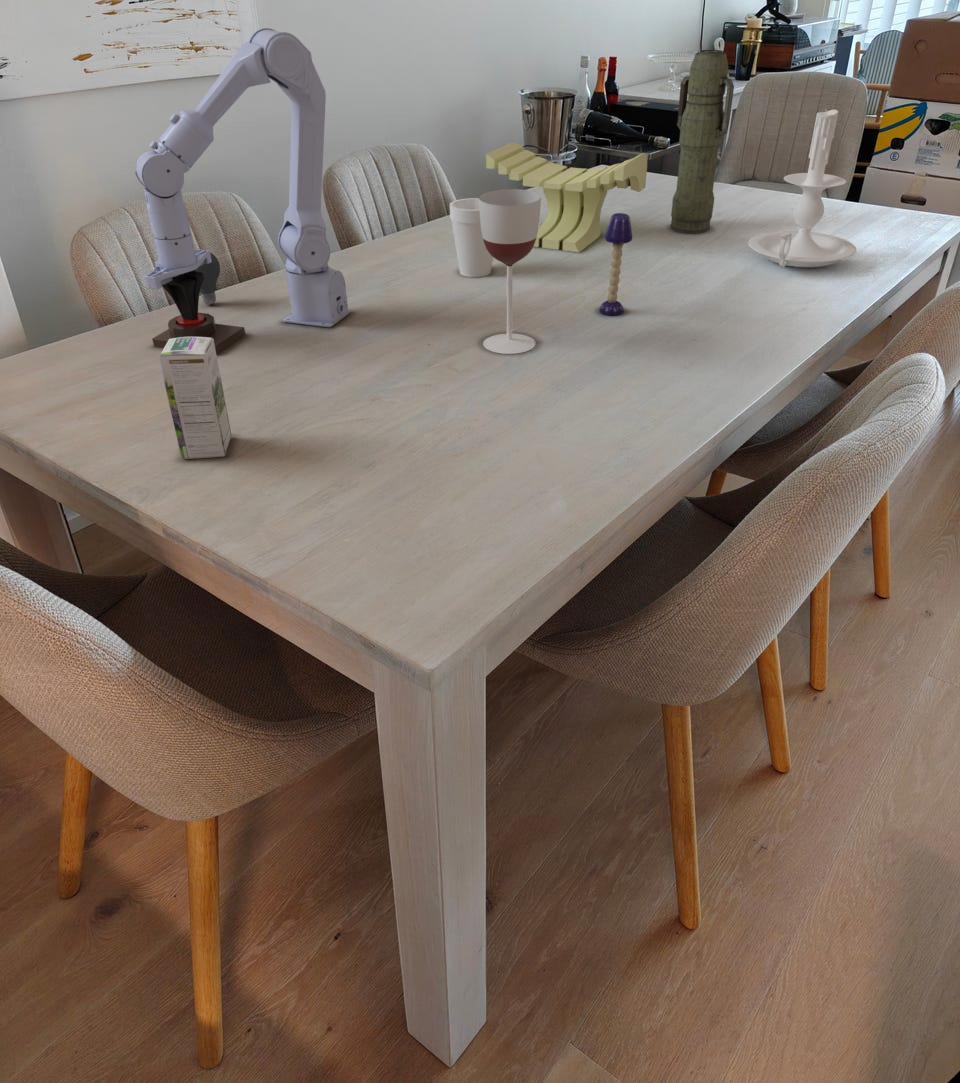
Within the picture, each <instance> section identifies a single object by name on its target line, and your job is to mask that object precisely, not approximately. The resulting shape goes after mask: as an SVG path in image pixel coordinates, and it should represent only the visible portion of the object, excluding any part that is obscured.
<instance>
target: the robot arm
mask: <svg viewBox="0 0 960 1083" xmlns="http://www.w3.org/2000/svg"><path fill="white" fill-rule="evenodd" d="M271 81H273V82H274V83H276V85H277V86H278V87H279V89H281V91H282V92H283V93H284V94H285V95H286V97H288V99H289V100H290V101H291V112H290V113H291V116H290V122H291V123H290V150H289V151H290V153H289V184H288V185H289V186H288V190H289V192H288V207H287V208H286V210H285V212H284V215H283V223H282V226H281V229H280V230H279V233H278V236H277V242H278V247H279V249H280V251H281V253H282V254H283V255H285V257H286V262H285V265H284V267H285V274H286V281H287V288H288V295H289V302H290V308H291V313H289V314H288V315H287V316H285V317H283V318H282V322H284V323H289V324H298V325H305V326H315V327H320V328H332V327H333V326H335V325H336V324H337V323H338V322H340V321H341V320H342V319H344V318H345V317H347V316H348V315H349V314H350V313H351V310H350V309H349V308H348V298H347V297H348V296H347V289H346V280H345V276H344V274H343V273H342V271H341V270H339V269H334V268H332V267H330V266H329V265H328V262H329V260H330V257H331V247H330V244H329V241H328V239H327V233H326V232H327V226H326V223H325V219H324V217H323V214H322V211H321V210H322V191H323V190H322V187H323V169H324V168H323V164H324V144H325V125H326V124H325V122H326V101H327V98H326V97H327V95H326V89H325V87H324V84H323V83H322V80H321V77H320V76H319V73H318V71H317V68H316V67H315V64H314V62H313V56H312V52H311V51H310V50H309V49H308V48H307V46H305V44H304V43H303V42H302V41H301V40H300V39H299V38H298V37H296V36H295V35H294V34H292V33H290V32H287V31H278V30H275V29H273V28H270V27H263V28H259V29H258V30H255V31H254V32H253V34H251V36H250V38H249V40H248V41H246V42H244V43H243V44H241V46H240V47H239V48H238V49H237V51H236V52H235V54H234V55H233V57H232V58H231V59H230V61H229V62H228V64H227V65H226V66H225V68H224V69H223V70H222V72H221V73H220V74H219V75H218V77H217V79H216V80H215V81H214V82H213V83H212V85H211V87H210V88H209V89H208V91H207V92H206V94H205V95H204V96H203V97H202V99H201V100H200V102H199V103H198V105H197V106H196V107H195V108H194V109H181V111H180V112H178V114H176V113H175V112H173V113H172V114H171V115H170V116H169V118H168V120H169V122H171V123H170V124H169V126H167V128H166V129H165V130H164V131H163V133H162V134H161V136H160V137H159V138H158V140H156V141H154V140H151V142H150V143H149V145H148V146H149V148H151V150H149V151H144V152H143V153H141V155H140V156H139V157H138V159H137V161H136V168H135V171H134V174H135V176H136V178H137V180H138V182H139V183H140V184H141V185H142V186H143V192H144V199H145V202H146V211H147V214H148V219H149V224H150V228H151V232H152V237H153V242H154V245H155V250H156V254H157V259H158V260H156V261H155V262H154V264H155V267H154V269H152V271H150V272H149V273H148V274H147V275H145V276H144V280H145V284H146V287H147V289H148V290H157V291H158V290H160V289H162V287H163V289H164V290H165V291H166V292H167V294H169V296H170V297H171V299H172V301H173V303H174V304H175V306H176V307H177V310H178V311H179V313H180V315H181V316H182V317H183V319H186V320H195V319H196V318H198V313H199V302H200V301H199V300H200V294H201V293H200V289H201V285H202V282H203V280H204V275H203V273H202V272H196V271H195V269H197V268H198V267H199V266H201V265H203V264H205V263H206V264H209V263H211V262H212V260H211V255H210V252H211V251H210V250H209V249H197V250H198V251H196V250H195V245H194V241H193V236H192V232H191V227H190V221H189V216H188V212H187V206H186V203H185V201H184V197H183V192H182V189H183V187H184V183H185V174H186V173H188V172H189V171H190V170H191V168H192V167H193V166H194V165H195V163H196V162H198V160H199V159H200V158H201V156H202V155H203V154H204V153H205V152H206V150H207V149H208V148H209V146H210V145H211V144H212V143H213V142H214V139H215V136H214V126H215V125H216V124H217V123H218V122H219V121H220V120H221V118H222V117H223V116H224V115H225V114H226V113H227V111H228V110H229V109H230V108H231V107H232V106H233V105H234V104H235V103H236V101H238V99H240V97H241V96H242V95H243V94H244V93H245V92H246V91H247V89H248V88H251V87H256V86H261V85H267V84H271V83H272V82H271Z"/></svg>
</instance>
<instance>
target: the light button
mask: <svg viewBox="0 0 960 1083" xmlns="http://www.w3.org/2000/svg"><path fill="white" fill-rule="evenodd" d="M204 322H205V318H204V316H203V315H201V314H198V318H196V319H195V320H186V319H183V317H182V316H181V317H179V318H178V319H177V323H178V325H179V326H195V325H198V324H202V323H204Z"/></svg>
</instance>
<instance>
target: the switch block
mask: <svg viewBox="0 0 960 1083" xmlns="http://www.w3.org/2000/svg"><path fill="white" fill-rule="evenodd" d="M198 314H201V315H203V316H204V318H205V322H204V323H202V324H198V325H195V326H179V325H178V323H177V319H178V318H179V317H181V314H180V315H176V316H174V317H172V318H171V319H169V320H168V322H167V326H168V328H167V329H166V330H165V331H163V332H161V333H159V334H158V335H155V336H154V337H153V338H151V339H152V345H153V347H154V348H159V349H164V347H165V346H166V344H167V342H168V340H169V339H172V338H179V337H209V338H213V339H214V345H215V350H216V355H217V356H218V354H220V353H222V352H223V351H225V350H226V349H227V348H229V347H231V346H232V345H234V344H235V343H236V342H238V341H240V340H241V339H243V338H244V337H246V329H245V327H244V326H238V325H230V324H222V323H216V320H215V317H214V315H211V314H210V313H205V312H198Z"/></svg>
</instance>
